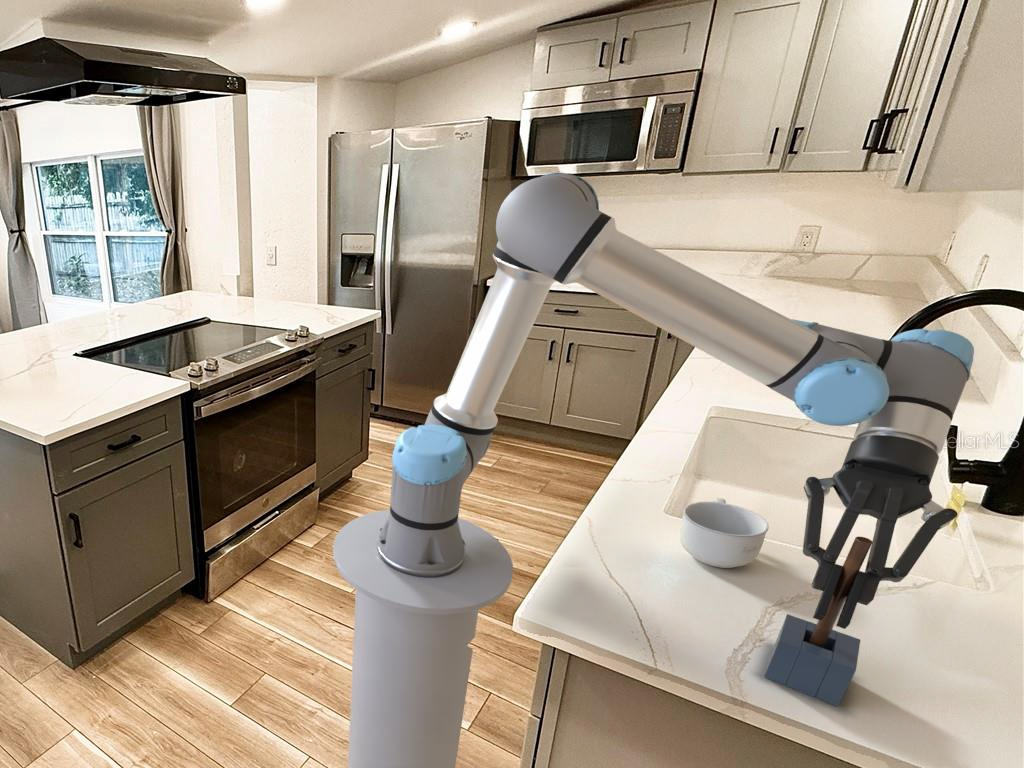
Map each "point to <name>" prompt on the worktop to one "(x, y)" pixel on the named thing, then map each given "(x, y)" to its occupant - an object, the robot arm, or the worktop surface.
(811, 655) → the stand
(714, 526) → the teacup
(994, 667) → the worktop surface
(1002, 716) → the worktop surface
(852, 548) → the stick
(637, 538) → the worktop surface
